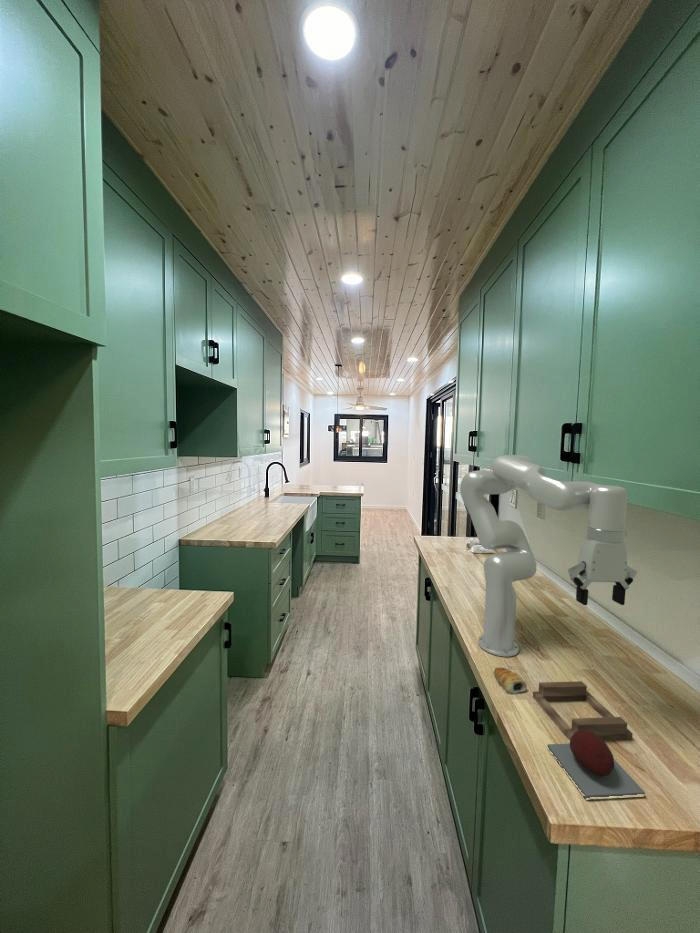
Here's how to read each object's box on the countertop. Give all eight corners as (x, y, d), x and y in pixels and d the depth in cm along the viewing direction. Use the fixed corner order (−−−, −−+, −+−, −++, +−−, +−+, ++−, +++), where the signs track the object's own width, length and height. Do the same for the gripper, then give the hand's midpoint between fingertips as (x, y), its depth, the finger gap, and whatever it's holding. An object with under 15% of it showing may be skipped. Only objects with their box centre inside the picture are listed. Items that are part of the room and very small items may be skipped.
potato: (604, 754, 80) (606, 727, 80) (619, 790, 72) (621, 761, 71) (565, 744, 83) (566, 718, 82) (575, 778, 74) (577, 749, 74)
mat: (547, 748, 83) (547, 744, 82) (598, 746, 84) (598, 742, 83) (585, 800, 71) (586, 795, 71) (644, 797, 72) (645, 792, 72)
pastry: (487, 674, 109) (488, 662, 109) (507, 672, 111) (508, 659, 110) (508, 696, 100) (509, 682, 100) (529, 693, 102) (530, 679, 101)
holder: (532, 696, 99) (533, 682, 99) (585, 695, 101) (586, 681, 100) (570, 742, 85) (571, 725, 84) (632, 739, 86) (633, 723, 86)
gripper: (625, 532, 96) (620, 596, 98) (562, 531, 95) (557, 596, 96) (651, 539, 89) (645, 609, 90) (582, 539, 88) (577, 609, 89)
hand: (599, 602), depth 93 cm, fingers open, 9 cm apart
